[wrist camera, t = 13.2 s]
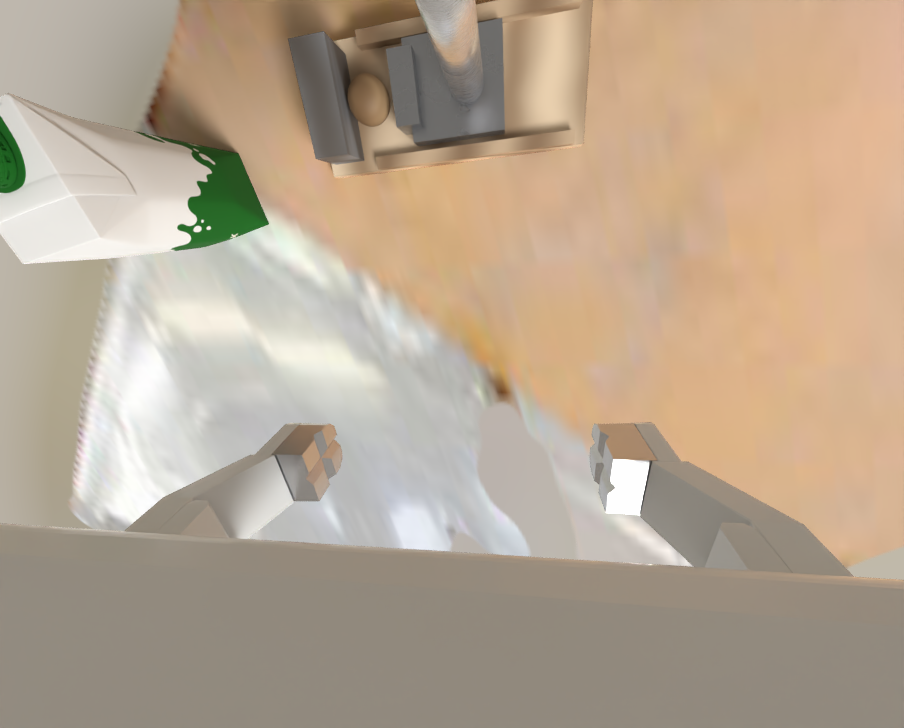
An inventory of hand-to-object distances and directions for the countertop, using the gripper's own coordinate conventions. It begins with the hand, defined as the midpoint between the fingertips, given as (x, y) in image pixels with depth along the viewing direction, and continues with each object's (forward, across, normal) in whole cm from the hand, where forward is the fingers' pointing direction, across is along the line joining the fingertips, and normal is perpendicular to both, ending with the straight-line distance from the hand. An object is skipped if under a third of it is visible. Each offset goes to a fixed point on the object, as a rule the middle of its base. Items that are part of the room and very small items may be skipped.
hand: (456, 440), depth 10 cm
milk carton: (+29, +28, -10) cm, 42 cm away
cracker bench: (+29, +3, -16) cm, 33 cm away
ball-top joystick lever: (+27, +2, -16) cm, 32 cm away
